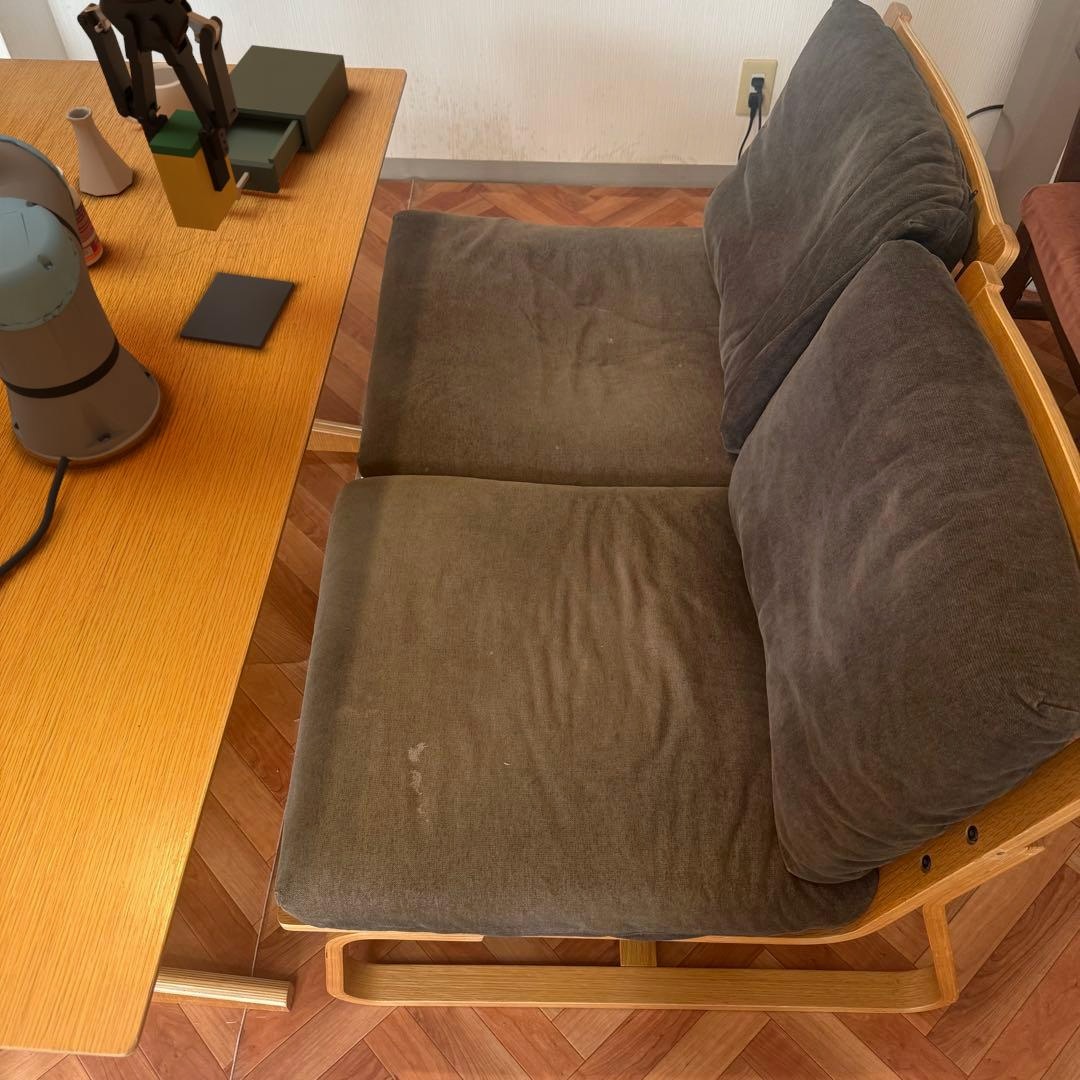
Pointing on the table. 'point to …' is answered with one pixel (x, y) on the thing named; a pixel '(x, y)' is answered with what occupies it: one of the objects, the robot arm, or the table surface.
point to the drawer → (262, 150)
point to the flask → (97, 157)
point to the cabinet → (291, 87)
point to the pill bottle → (85, 227)
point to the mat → (237, 310)
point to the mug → (167, 92)
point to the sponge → (190, 174)
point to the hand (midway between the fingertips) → (199, 181)
